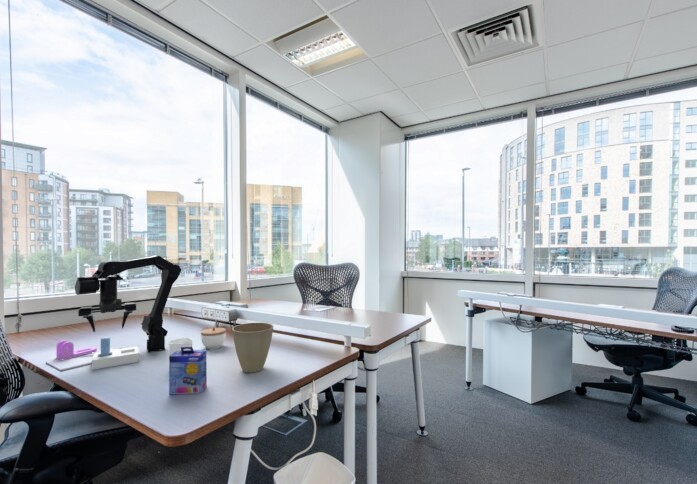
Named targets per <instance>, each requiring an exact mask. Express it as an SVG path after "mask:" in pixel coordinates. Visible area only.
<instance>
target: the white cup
mask: <svg viewBox="0 0 697 484" xmlns="http://www.w3.org/2000/svg"><path fill="white" fill-rule="evenodd" d="M168 345H169V356H170V355H172V354H173V353H174V352H176V351H181V347H192V348H193V339H192V338H190V337H189V338H188V337H183V338H176V339H175V338H174V339H173V340H170V341H168ZM183 350H191V349H183Z"/></svg>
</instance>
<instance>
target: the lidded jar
mask: <svg viewBox="0 0 697 484" xmlns="http://www.w3.org/2000/svg"><path fill="white" fill-rule="evenodd" d="M200 334H201V338H200V339H201V343H202V345H203V346H204V347H205V348H206V350H217V349H220V348H221V347H222V346H223V345H224V343H225V341H226V338H227V337H226V336H227V328H224V327H216V326H213V327H211V328H206V329H203V330H201V332H200Z"/></svg>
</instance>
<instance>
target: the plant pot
mask: <svg viewBox="0 0 697 484" xmlns="http://www.w3.org/2000/svg"><path fill="white" fill-rule="evenodd" d="M273 331H274V324H272V323H267V322H248V323H247V322H245V323H241V324H238V325H235V326H233V327H232V337H233V343H234V348H235V352H236V355H237V359H238V362H239V365H240V367H241V370H242V372H243V371H244V372H243V373H245V372H249V373H248V374H253V373H252V372H255V373H258V372H257V371H259V372H261V371H263V370H264V367H265V364H266V361H267V358H268V354H269V351H270V348H271V344H272V343H271V342H272V339H273ZM260 370H261V371H260Z"/></svg>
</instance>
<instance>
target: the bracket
mask: <svg viewBox="0 0 697 484" xmlns="http://www.w3.org/2000/svg"><path fill="white" fill-rule="evenodd" d="M74 346H75V345H74V343H73V342H71V341H67V340H61V341H58V343H57V344H56V359H59V360H60V359H65V358H69V359H71V358H70V357H73V358H76V357H75V356H78V357H80V356H79V355H82V356H84V355H83V354H86V355H88V354H87V353H90V354H93V353H92V352H94V353H97V349H98V347H86V348H81V349H76V350H75V349H74ZM65 360H66V359H65Z"/></svg>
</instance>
